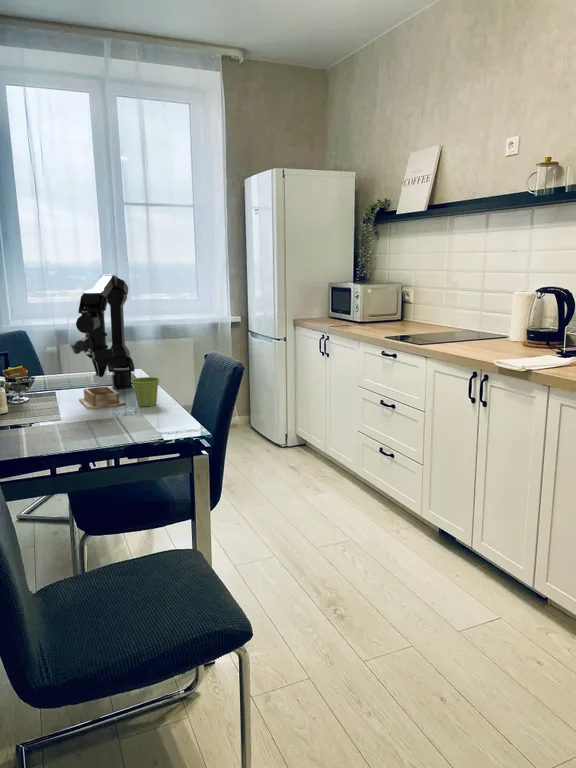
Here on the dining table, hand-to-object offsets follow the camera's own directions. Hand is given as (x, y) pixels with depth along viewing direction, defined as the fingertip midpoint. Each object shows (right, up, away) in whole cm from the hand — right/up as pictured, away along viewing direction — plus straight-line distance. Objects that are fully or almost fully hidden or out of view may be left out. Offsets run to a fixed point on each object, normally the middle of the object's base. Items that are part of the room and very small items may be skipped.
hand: (99, 375), depth 198 cm
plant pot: (+17, -10, -3) cm, 19 cm away
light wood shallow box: (0, -9, +2) cm, 9 cm away
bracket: (0, -1, 0) cm, 2 cm away
